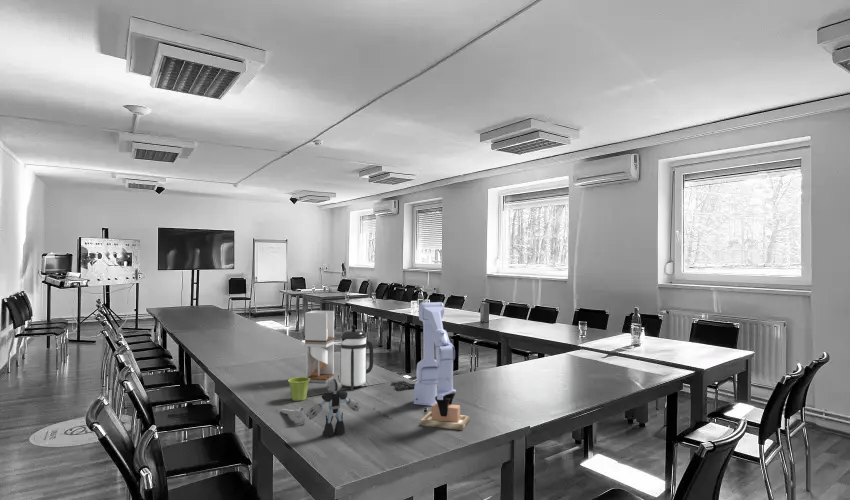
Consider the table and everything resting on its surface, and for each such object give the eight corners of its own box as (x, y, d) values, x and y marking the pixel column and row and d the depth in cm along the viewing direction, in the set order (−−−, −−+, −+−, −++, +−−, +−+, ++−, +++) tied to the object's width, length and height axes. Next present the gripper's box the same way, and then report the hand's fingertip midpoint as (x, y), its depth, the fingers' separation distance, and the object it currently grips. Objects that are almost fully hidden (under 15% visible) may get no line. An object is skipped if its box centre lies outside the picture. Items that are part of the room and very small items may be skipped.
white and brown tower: (304, 381, 235) (305, 312, 236) (313, 376, 245) (313, 310, 246) (326, 382, 233) (326, 313, 234) (333, 377, 243) (334, 310, 244)
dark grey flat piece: (452, 390, 224) (452, 382, 224) (406, 394, 212) (406, 386, 212) (430, 382, 241) (430, 375, 242) (387, 386, 229) (387, 378, 229)
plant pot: (283, 401, 202) (283, 381, 202) (297, 395, 211) (297, 376, 211) (301, 403, 198) (301, 383, 199) (314, 397, 207) (314, 378, 207)
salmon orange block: (431, 419, 173) (431, 405, 173) (434, 416, 177) (434, 402, 177) (457, 422, 170) (457, 408, 170) (460, 418, 174) (460, 405, 174)
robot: (308, 441, 156) (308, 381, 156) (304, 437, 160) (304, 378, 160) (362, 431, 165) (362, 374, 166) (357, 426, 170) (357, 372, 170)
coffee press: (368, 390, 218) (368, 326, 219) (335, 390, 218) (335, 326, 219) (373, 381, 235) (373, 322, 236) (342, 381, 236) (342, 322, 236)
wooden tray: (420, 425, 171) (420, 419, 171) (429, 416, 181) (429, 411, 181) (462, 430, 166) (462, 424, 166) (469, 421, 175) (469, 415, 176)
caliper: (304, 425, 172) (305, 408, 172) (302, 426, 171) (302, 408, 172) (283, 411, 188) (283, 395, 188) (280, 412, 188) (280, 396, 188)
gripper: (450, 383, 166) (450, 421, 165) (460, 374, 179) (460, 409, 179) (431, 381, 168) (431, 419, 168) (443, 372, 182) (443, 407, 181)
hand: (445, 414), depth 173 cm, fingers closed on salmon orange block, 4 cm apart
